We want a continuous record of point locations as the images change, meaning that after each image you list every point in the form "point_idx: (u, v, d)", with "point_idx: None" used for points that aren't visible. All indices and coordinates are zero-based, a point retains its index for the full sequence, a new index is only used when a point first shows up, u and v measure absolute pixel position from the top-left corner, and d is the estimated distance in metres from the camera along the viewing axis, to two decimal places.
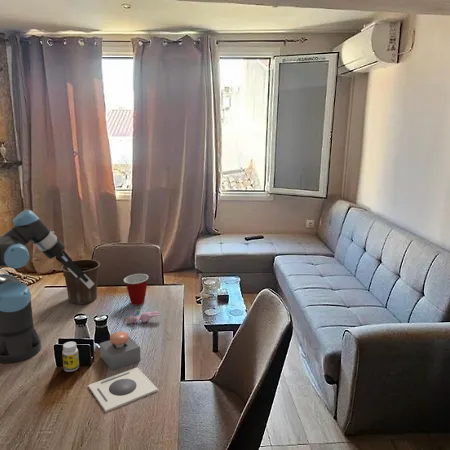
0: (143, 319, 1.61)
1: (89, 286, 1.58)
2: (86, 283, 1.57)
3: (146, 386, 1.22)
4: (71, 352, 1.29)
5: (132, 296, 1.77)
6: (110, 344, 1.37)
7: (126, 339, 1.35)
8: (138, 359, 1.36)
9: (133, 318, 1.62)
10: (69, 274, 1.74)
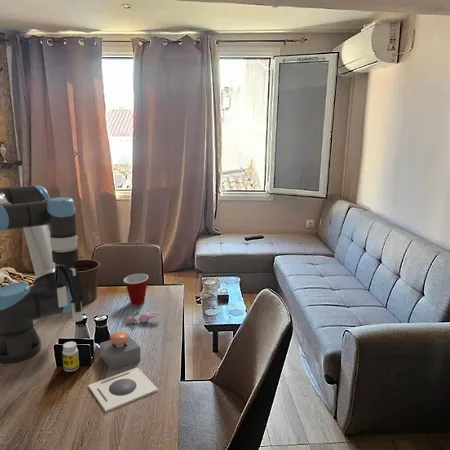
0: (142, 319, 1.61)
1: (75, 319, 1.23)
2: (75, 314, 1.22)
3: (146, 386, 1.22)
4: (71, 352, 1.29)
5: (132, 296, 1.77)
6: (110, 344, 1.37)
7: (126, 339, 1.35)
8: (138, 359, 1.36)
9: (132, 318, 1.61)
10: None
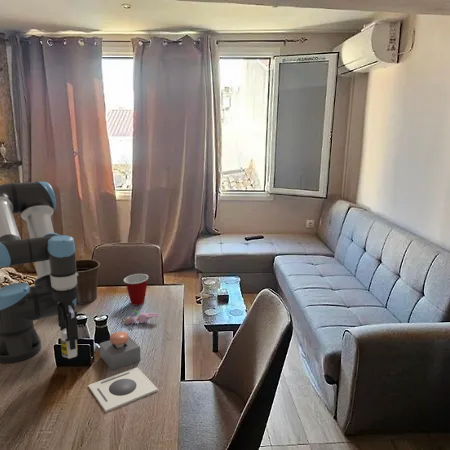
0: (140, 320, 1.60)
1: (70, 356, 1.28)
2: (70, 351, 1.28)
3: (146, 386, 1.22)
4: None
5: (132, 296, 1.77)
6: (110, 344, 1.37)
7: (126, 339, 1.35)
8: (138, 359, 1.36)
9: (130, 319, 1.61)
10: None
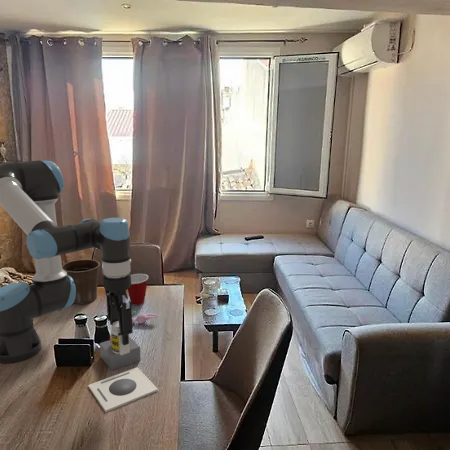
0: (139, 321, 1.60)
1: (122, 352, 1.16)
2: (122, 346, 1.15)
3: (146, 386, 1.22)
4: None
5: (132, 296, 1.77)
6: (110, 344, 1.37)
7: None
8: (138, 359, 1.36)
9: None
10: (69, 274, 1.74)
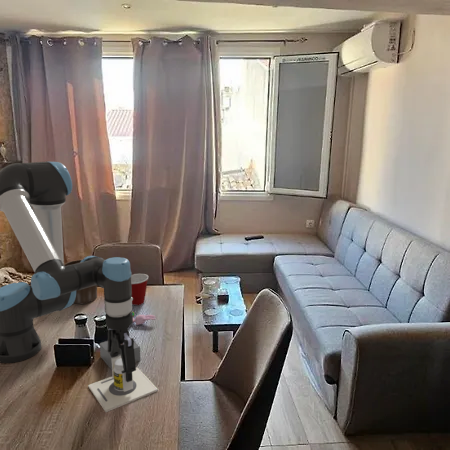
0: (136, 322, 1.59)
1: (126, 388, 1.17)
2: (126, 383, 1.17)
3: (146, 386, 1.22)
4: None
5: (132, 296, 1.77)
6: None
7: None
8: (138, 359, 1.36)
9: None
10: None
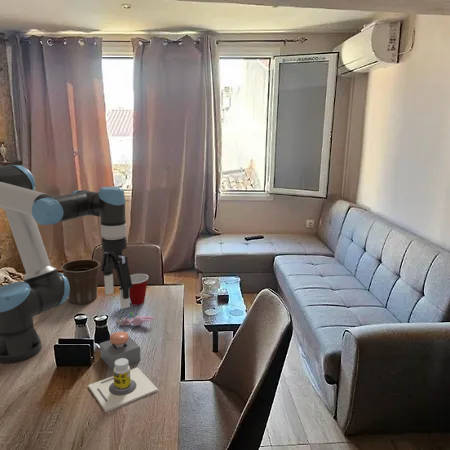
0: (134, 323, 1.58)
1: (123, 306, 1.26)
2: (123, 300, 1.26)
3: (146, 386, 1.22)
4: (123, 370, 1.18)
5: (132, 296, 1.77)
6: (110, 344, 1.37)
7: (126, 339, 1.35)
8: (138, 359, 1.36)
9: (125, 320, 1.60)
10: (69, 274, 1.74)
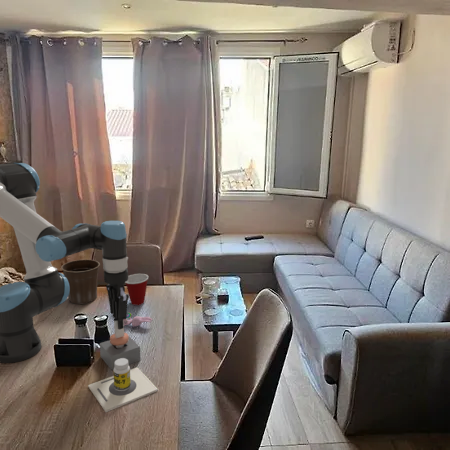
0: (132, 323, 1.58)
1: (118, 335, 1.34)
2: (118, 330, 1.34)
3: (146, 386, 1.22)
4: (123, 370, 1.18)
5: (132, 296, 1.77)
6: (110, 344, 1.37)
7: (126, 340, 1.35)
8: (138, 359, 1.36)
9: (124, 320, 1.59)
10: (69, 274, 1.74)
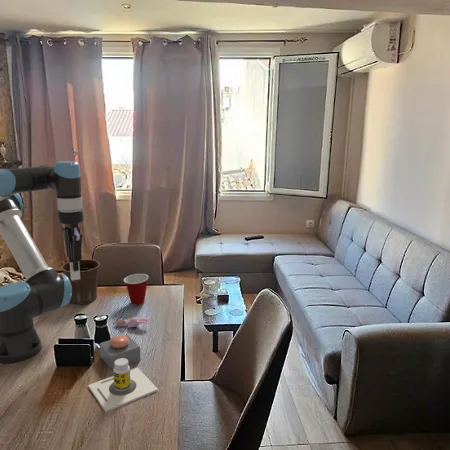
0: (130, 324, 1.57)
1: (74, 278, 1.35)
2: (73, 273, 1.35)
3: (146, 386, 1.22)
4: (123, 370, 1.18)
5: (132, 296, 1.77)
6: None
7: (126, 343, 1.35)
8: (138, 359, 1.36)
9: (122, 321, 1.59)
10: (69, 274, 1.74)
